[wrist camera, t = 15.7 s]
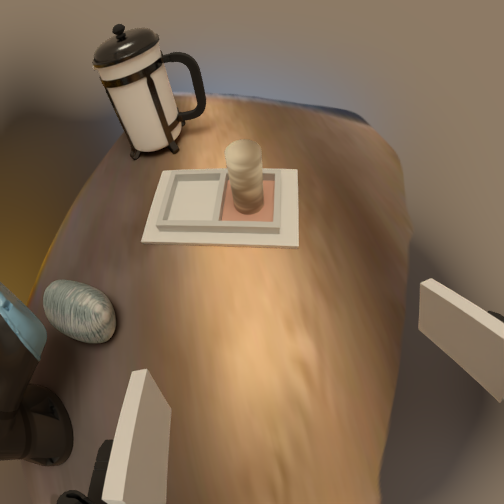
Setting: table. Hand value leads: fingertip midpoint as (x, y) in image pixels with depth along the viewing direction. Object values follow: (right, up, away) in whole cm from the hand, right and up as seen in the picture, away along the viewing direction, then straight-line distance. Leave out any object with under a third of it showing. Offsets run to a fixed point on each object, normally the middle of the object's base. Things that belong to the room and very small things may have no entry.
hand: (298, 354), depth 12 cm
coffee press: (-22, +30, +48) cm, 61 cm away
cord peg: (-3, +13, +37) cm, 39 cm away
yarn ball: (-29, -7, +30) cm, 42 cm away
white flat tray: (-7, +12, +38) cm, 41 cm away
